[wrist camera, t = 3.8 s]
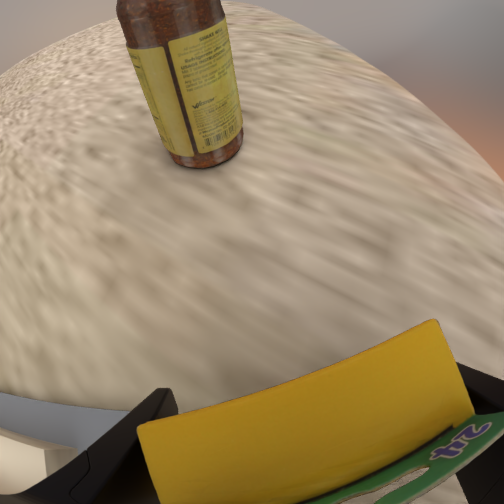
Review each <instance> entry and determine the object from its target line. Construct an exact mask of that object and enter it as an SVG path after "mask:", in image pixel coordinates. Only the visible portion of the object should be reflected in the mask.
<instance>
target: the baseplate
mask: <svg viewBox="0 0 504 504" xmlns="http://www.w3.org/2000/svg"><path fill="white" fill-rule="evenodd" d="M129 412H131V411H118V410H106V409H96V408H86V407H78V406H71V405H64V404H57V403H51V402H45V401H39V400H34V399H29V398H24V397H19V396H15V395H10V394H6V393H2V392H0V427H1V428H3V429H6V430H9V431H12V432H15V433H19V434H22V435H25V436H28V437H32V438H35V439H39V440H43V441H47V442H51V443H55V444H59V445H63V446H68V447H72V448H77V449H78V455H79V454H80V453H82V452H83V451H84V450H87V448H88V447H89V446H90V445H91V444H93V443H94V442H95V441H96V440H97V439H99V438H100V437H101V436H102V435H103V434H105V433H106V432H107V431H108V430H109V429H111V428H112V427H113V426H114V425H115V424H117V423H118V422H119V421H120V420H121V419H122V418H124V417H125V416H126V415H127V414H128V413H129Z"/></svg>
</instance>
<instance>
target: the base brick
mask: <svg viewBox="0 0 504 504" xmlns="http://www.w3.org/2000/svg"><path fill="white" fill-rule="evenodd" d="M77 456H78V449H77V448H72V447H68V446H63V445H59V444H55V443H51V442H47V441H43V440H39V439H35V438H32V437H28V436H25V435H22V434H19V433H15V432H12V431H9V430H6V429H3V428H1V427H0V494H16V493H20V492H22V491H24V490H26V489H28V488H30V487H32V486H33V485H35V484H37V483H38V482H40V481H42V480H43V479H45V478H46V477H48V476H50V475H51V474H53V473H54V472H56V471H57V470H59V469H60V468H62V467H63V466H65V465H66V464H68V463H69V462H70V461H71V460H73V459H74V458H75V457H77Z"/></svg>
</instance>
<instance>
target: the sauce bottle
mask: <svg viewBox="0 0 504 504" xmlns="http://www.w3.org/2000/svg"><path fill="white" fill-rule="evenodd" d="M116 11H117V17H118V20H119V21H120V24H121V28H122V29H123V33H124V36H125V38H126V41H127V42H126V47H127V49H128V52H129V55H130V58H131V60H132V63H133V66H134V68H135V71H136V74H137V76H138V79H139V82H140V85H141V87H142V90H143V93H144V95H145V98H146V100H147V103H148V106H149V108H150V111H151V114H152V116H153V119H154V121H155V124H156V126H157V129H158V132H159V134H160V137H161V140H162V142H163V144H164V146H165V147H166V148H167V149H168V151H169V153H170V155H171V156H172V158H173V160H174V161H175V162H176V163H177V164H179V165H183V166H186V167H194V168H207V167H211V166H216V165H217V164H220V163H221V162H224V161H226V160H228V159H229V158H231V157H232V156H233V155H234V154H235V153H236V152H237V151H238V150H239V148H240V146H241V144H242V140H243V128H242V123H243V119H242V113H241V107H240V100H239V94H238V88H237V83H236V77H235V71H234V65H233V58H232V52H231V46H230V40H229V34H228V28H227V23H226V17H225V13H224V11H223V8H222V5H221V2H220V0H117V6H116Z"/></svg>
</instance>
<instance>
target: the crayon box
mask: <svg viewBox="0 0 504 504" xmlns="http://www.w3.org/2000/svg"><path fill="white" fill-rule="evenodd" d="M136 431H137V434H138V437H139V440H140V443H141V447H142V451H143V454H144V457H145V461H146V463H147V467H148V470H149V473H150V476H151V479H152V482H153V485H154V487H155V489H156V492H157V495H158V498H159V501H160V503H161V504H340V503H342V502H344V501H347V500H349V499H352V498H355V497H358V496H361V495H364V494H368V493H371V492H375V491H377V490H379V489H381V488H383V487H385V486H387V485H389V484H391V483H393V482H395V481H396V480H398V479H400V478H402V477H403V476H405V475H407V474H409V473H412V472H414V471H416V470H419V469H422V468H427V467H429V469H428V470H427V471H426V472H425V473H424V474H423V475H422V476H420V477H418V478H416V479H415V480H413V481H411V482H409V483H407V484H406V485H404V486H402V487H400V488H398V489H396V490H394V491H392V492H390V493H389V494H387V495H385V496H384V497H382V498H380V499H379V500H378V501H376V502H375V503H374V504H408V503H410V502H412V501H413V500H415V499H417V498H419V497H420V496H422V495H424V494H425V493H427V492H428V491H430V490H432V489H433V488H435V487H436V486H438V485H439V484H441V483H442V482H444V481H445V480H447V479H448V478H449V477H451V476H452V475H453V474H455V473H456V472H458V471H459V470H460V469H462V468H463V467H465V466H466V465H467V464H468V463H469V462H471V461H472V460H473V459H474V458H476V457H477V456H478V455H480V454H481V453H482V452H483V451H485V450H486V449H487V448H488V447H489V446H490V445H492V444H493V443H494V442H495V441H496V440H497V439H498V438H500V437H501V436H502V435H503V434H504V412H499V413H494V414H487V415H475V412H474V407H473V405H472V403H471V400H470V397H469V395H468V392H467V389H466V387H465V385H464V382H463V379H462V377H461V374H460V372H459V369H458V367H457V364H456V362H455V359H454V357H453V355H452V353H451V350H450V348H449V346H448V343H447V341H446V339H445V337H444V335H443V333H442V330H441V328H440V325H439V323H438V321H437V320H436V319H430V320H428V321H425V322H423V323H421V324H420V325H417V326H415V327H413V328H411V329H409V330H407V331H405V332H403V333H401V334H399V335H397V336H395V337H393V338H391V339H389V340H387V341H385V342H383V343H381V344H379V345H376V346H374V347H372V348H370V349H368V350H366V351H363V352H361V353H359V354H357V355H354V356H352V357H350V358H347V359H345V360H343V361H340V362H338V363H335V364H333V365H330V366H328V367H325V368H323V369H320V370H318V371H315V372H312V373H310V374H307V375H305V376H302V377H299V378H297V379H294V380H291V381H289V382H286V383H283V384H280V385H277V386H274V387H271V388H268V389H265V390H262V391H259V392H256V393H253V394H250V395H247V396H243V397H240V398H237V399H233V400H230V401H227V402H223V403H220V404H216V405H213V406H209V407H206V408H202V409H198V410H194V411H191V412H187V413H183V414H179V415H174V416H170V417H166V418H162V419H158V420H154V421H149V422H146V423H145V424H141V425H139V426H138V427H137V429H136Z"/></svg>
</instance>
